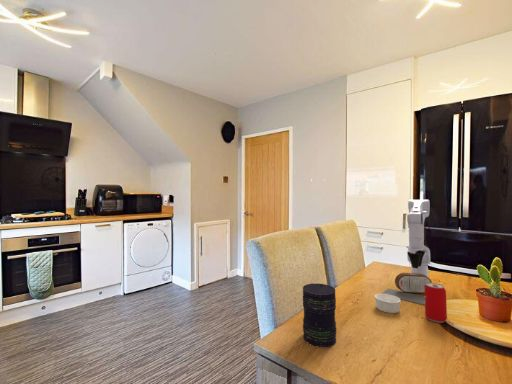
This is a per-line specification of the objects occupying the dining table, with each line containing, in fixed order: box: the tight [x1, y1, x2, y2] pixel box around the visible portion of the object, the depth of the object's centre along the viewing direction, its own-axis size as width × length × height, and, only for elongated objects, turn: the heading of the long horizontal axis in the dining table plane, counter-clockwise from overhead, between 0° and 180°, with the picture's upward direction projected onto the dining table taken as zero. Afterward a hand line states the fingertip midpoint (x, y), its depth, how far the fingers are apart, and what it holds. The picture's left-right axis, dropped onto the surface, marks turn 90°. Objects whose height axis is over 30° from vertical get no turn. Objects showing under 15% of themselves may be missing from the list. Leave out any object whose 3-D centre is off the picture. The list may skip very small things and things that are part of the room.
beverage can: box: [424, 282, 448, 324], centre depth 88 cm, size 6×6×12 cm
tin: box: [394, 272, 433, 295], centre depth 114 cm, size 15×3×8 cm, turn 84°
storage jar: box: [302, 283, 337, 349], centre depth 77 cm, size 10×10×15 cm
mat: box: [380, 288, 425, 306], centre depth 109 cm, size 10×20×1 cm, turn 46°
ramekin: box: [374, 293, 402, 314], centre depth 97 cm, size 9×9×4 cm
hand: (416, 267), depth 119 cm, fingers open, 5 cm apart
